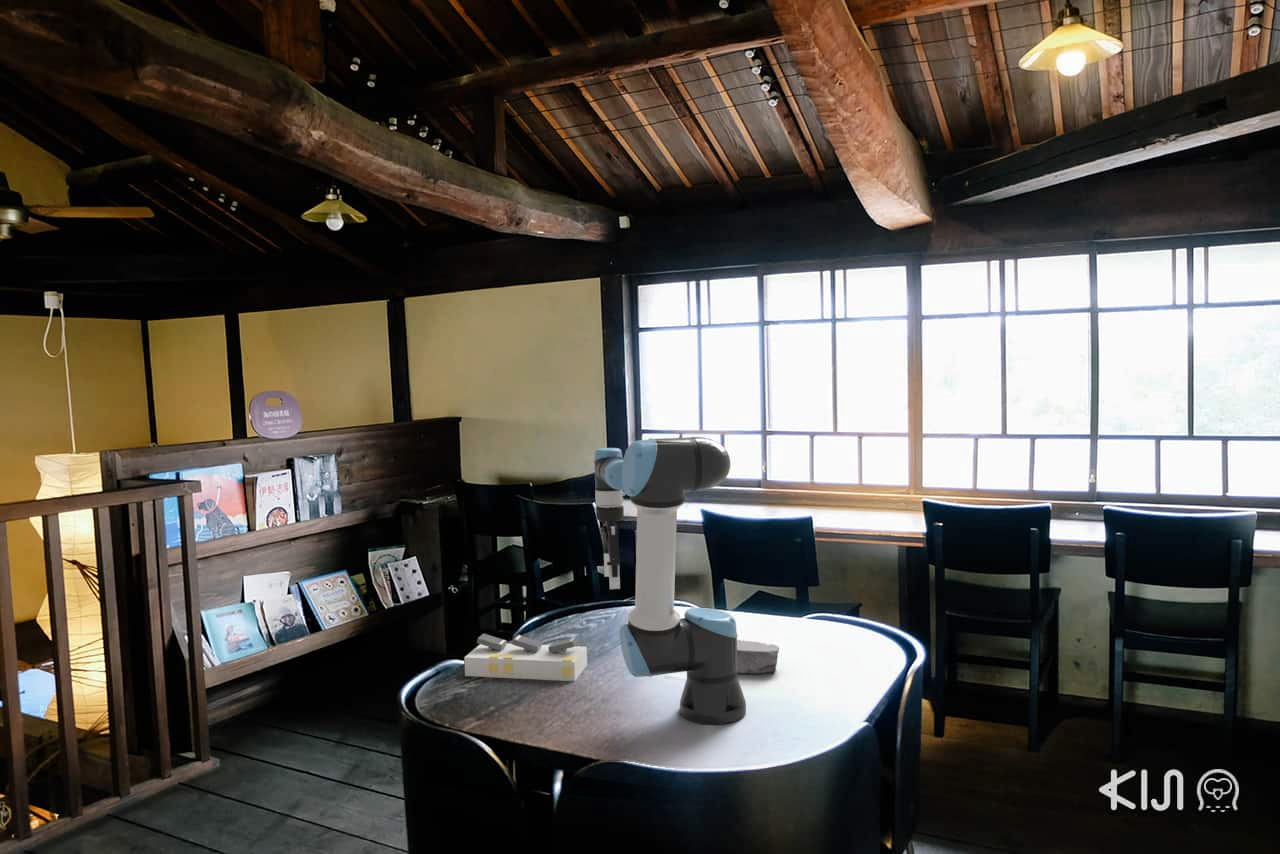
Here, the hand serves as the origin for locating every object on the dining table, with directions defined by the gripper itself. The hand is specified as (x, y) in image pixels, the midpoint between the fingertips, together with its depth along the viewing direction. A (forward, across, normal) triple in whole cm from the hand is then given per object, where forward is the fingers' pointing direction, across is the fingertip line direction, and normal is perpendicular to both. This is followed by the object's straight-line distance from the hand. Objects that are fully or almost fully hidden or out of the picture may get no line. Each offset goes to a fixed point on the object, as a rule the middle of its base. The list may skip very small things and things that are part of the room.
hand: (612, 582), depth 222 cm
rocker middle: (+15, -2, +24) cm, 28 cm away
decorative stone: (+22, -15, -34) cm, 43 cm away
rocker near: (+14, -5, +14) cm, 21 cm away
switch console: (+22, -3, +24) cm, 32 cm away
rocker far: (+15, +2, +33) cm, 36 cm away
